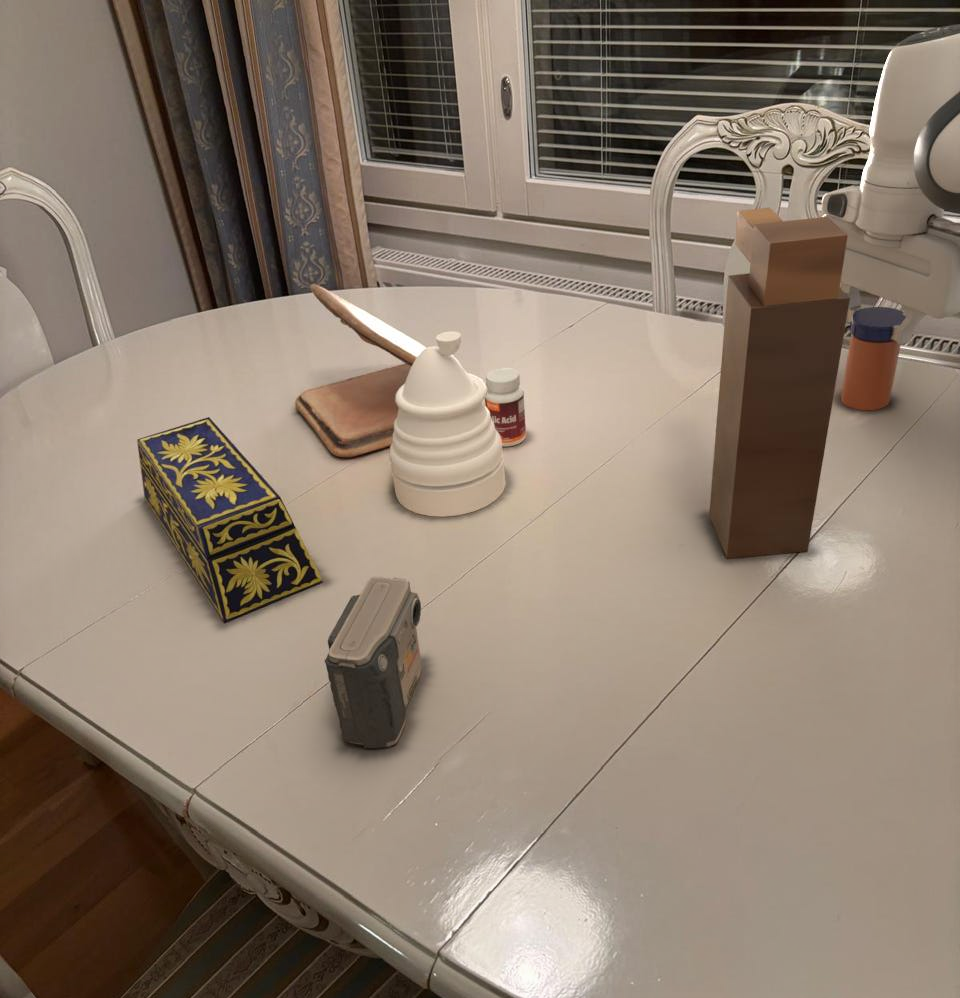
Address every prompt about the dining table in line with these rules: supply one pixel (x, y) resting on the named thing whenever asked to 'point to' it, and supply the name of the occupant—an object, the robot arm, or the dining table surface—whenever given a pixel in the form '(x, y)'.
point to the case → (359, 387)
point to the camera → (375, 661)
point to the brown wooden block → (791, 256)
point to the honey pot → (445, 437)
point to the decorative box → (223, 519)
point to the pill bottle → (506, 405)
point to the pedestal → (772, 419)
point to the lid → (875, 323)
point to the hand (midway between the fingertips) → (875, 331)
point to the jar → (869, 373)
